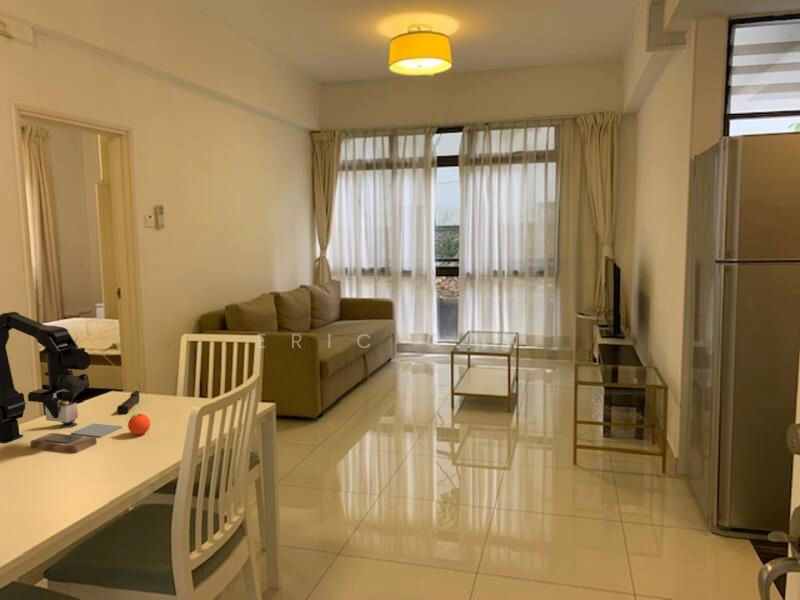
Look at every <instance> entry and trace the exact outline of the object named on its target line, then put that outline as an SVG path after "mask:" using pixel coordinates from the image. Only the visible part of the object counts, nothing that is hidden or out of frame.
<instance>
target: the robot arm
mask: <svg viewBox="0 0 800 600" xmlns="http://www.w3.org/2000/svg"><path fill="white" fill-rule="evenodd" d="M12 329H13V330H16V331H18V332H20V333H23V334H25V335H28V336H31V337H33V338H34V339H36V340H37V341H36V342H37V343H38V344H40V345H41V346H43V347H44V349H43V350H41V351H40V354H41V355H45V357H46V365H47V371H45V372H44V376H47V379H48V380H47V381H48V384H45V388H46V389H42V388H41V389H40V388H39V389H35V390H32V391H29V393H28V394H27V401H28V402H31V403H32V402H34V403H42V404H43V405H44V407H45V406H46V407H47V409H48V410H49V412H50V413H51V415H52V416H53V418H57V416H58V409H57V402H58V401H59V400H64V401H69V402H73V403H74V400H75V398H76V396H78V394H79V393H81V392H83V391H84V390H85V389H86V388H87V389H88V388H90V380H89V375H88V374H86V373H81V374H80V375H74V373H73V370H76V371H77V370H78V371H79V370H81V371H84V370H86V369H88V368H89V367H90V365H91V361H92V358H91V356H90V354H89V353H88V352H87V351H86V350H85V347H80V348H79V346H78V344H77V342H76V341H75V340H74V338H73V337H72V335H71V333H70V332H69V330H68V328H65V327H63V326H58V325H48V324H47V325H46V324H44V323H42V322H39V321H37V320H34V319H33V318H32V319H31V318H30V317H27V316H24V315H22V314H20V313H19V312H17V311H10V312H3V313H1V314H0V443H5V444H6V443H9V442H11V441H14V440H16V439H19V438H22V437H24V434H20V427H19V421H18V419H22V418H23V416H24V412H25V410H26V404H27V403H26V401H25V395H24V393H23V392H19V391H18V390H16V388H15V385H14V380H13V374H12V371H11V366H10V361H9V356H8V352H7V344H8V341H9V339H10V332H9V331H11V330H12ZM57 394H60V396H61V397H57V396H58V395H57Z"/></svg>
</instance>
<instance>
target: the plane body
mask: <svg viewBox="0 0 800 600" xmlns="http://www.w3.org/2000/svg"><path fill="white" fill-rule="evenodd" d="M94 445H97V437H91V436H82V435H73V434H64V433H55V432H50V433H47V434H45V435H43V436H40V437H38V438H35V439H32V440H30V448H33V449H34V448H35V449H42V450H51V451H57V452H58V451H59V452H67V453H75V454H77V453H79V452H82V451H84V450H87V449H88V448H91V447H92V446H94Z"/></svg>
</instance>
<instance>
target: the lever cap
mask: <svg viewBox="0 0 800 600" xmlns="http://www.w3.org/2000/svg"><path fill="white" fill-rule="evenodd" d="M44 409H45V412H44V413H45V420H46V421H49V422H50V421H51V422H57V423H58V422H60V423H61V422H69V421H72V420H74V419H79V414H78V403H77V402H74V401H73V402H69V401H64V400H62V399H59V401H58V402H57V409H58V416H57V418H53V416H52V415H51V413H50V412H49V410H48V409H47V407H46V406H45V405H44Z"/></svg>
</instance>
